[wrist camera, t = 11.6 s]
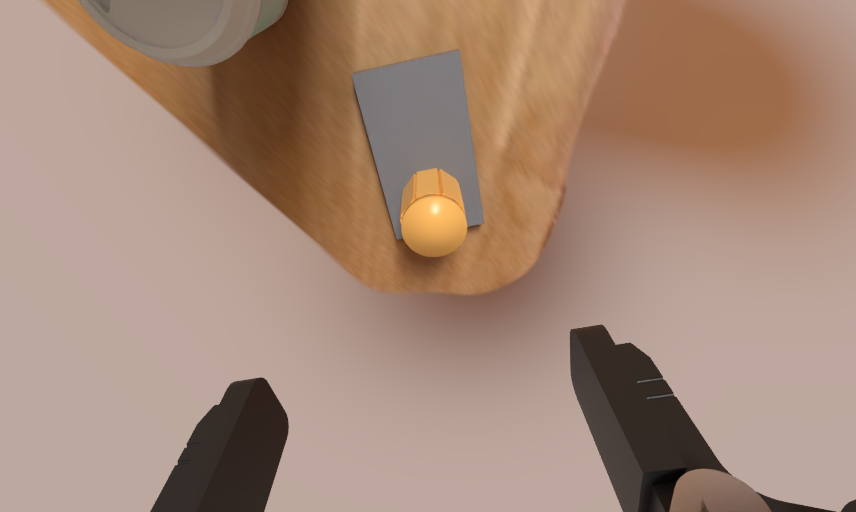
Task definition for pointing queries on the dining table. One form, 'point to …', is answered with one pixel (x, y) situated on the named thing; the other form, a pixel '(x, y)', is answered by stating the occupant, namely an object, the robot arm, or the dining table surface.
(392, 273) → the dining table surface
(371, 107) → the board
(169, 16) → the coffee cup
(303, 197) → the dining table surface
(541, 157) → the dining table surface
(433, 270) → the dining table surface
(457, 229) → the wire nut
